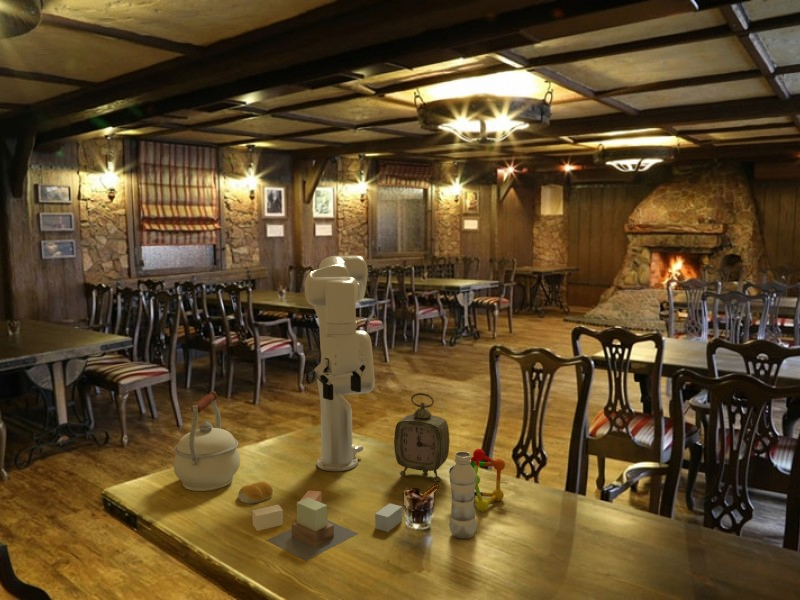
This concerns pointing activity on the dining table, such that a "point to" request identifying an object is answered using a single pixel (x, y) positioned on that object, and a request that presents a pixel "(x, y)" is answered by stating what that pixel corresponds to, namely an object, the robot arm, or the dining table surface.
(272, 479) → the dining table surface
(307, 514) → the brick sage
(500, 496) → the educational toy
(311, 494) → the brick terracotta
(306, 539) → the brick walnut
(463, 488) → the plastic bottle
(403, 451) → the tabletop clock
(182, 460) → the kettle
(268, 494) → the bread roll
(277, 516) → the brick cream
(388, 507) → the grey block
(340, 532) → the slate board
